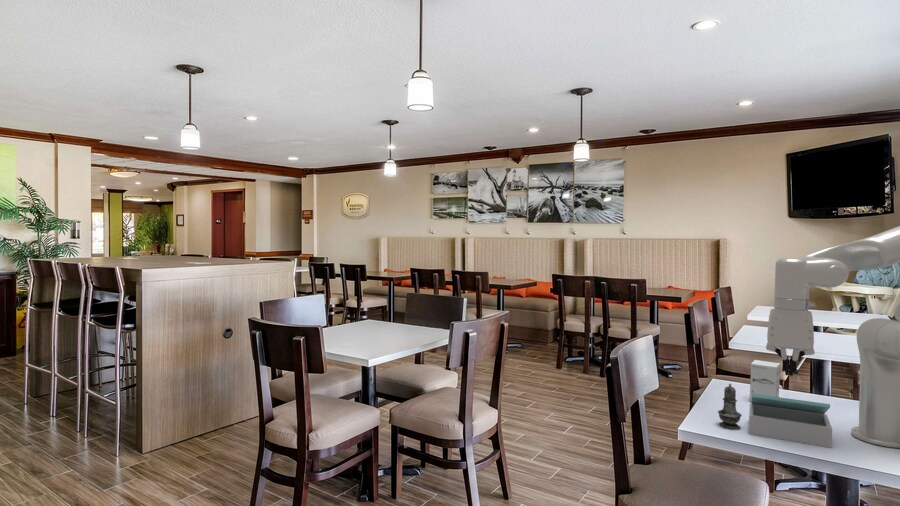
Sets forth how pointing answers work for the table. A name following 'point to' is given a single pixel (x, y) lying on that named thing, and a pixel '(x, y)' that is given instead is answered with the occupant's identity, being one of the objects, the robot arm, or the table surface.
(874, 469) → the table surface
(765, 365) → the supplement box
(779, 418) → the hinged gray case
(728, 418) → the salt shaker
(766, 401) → the cover
